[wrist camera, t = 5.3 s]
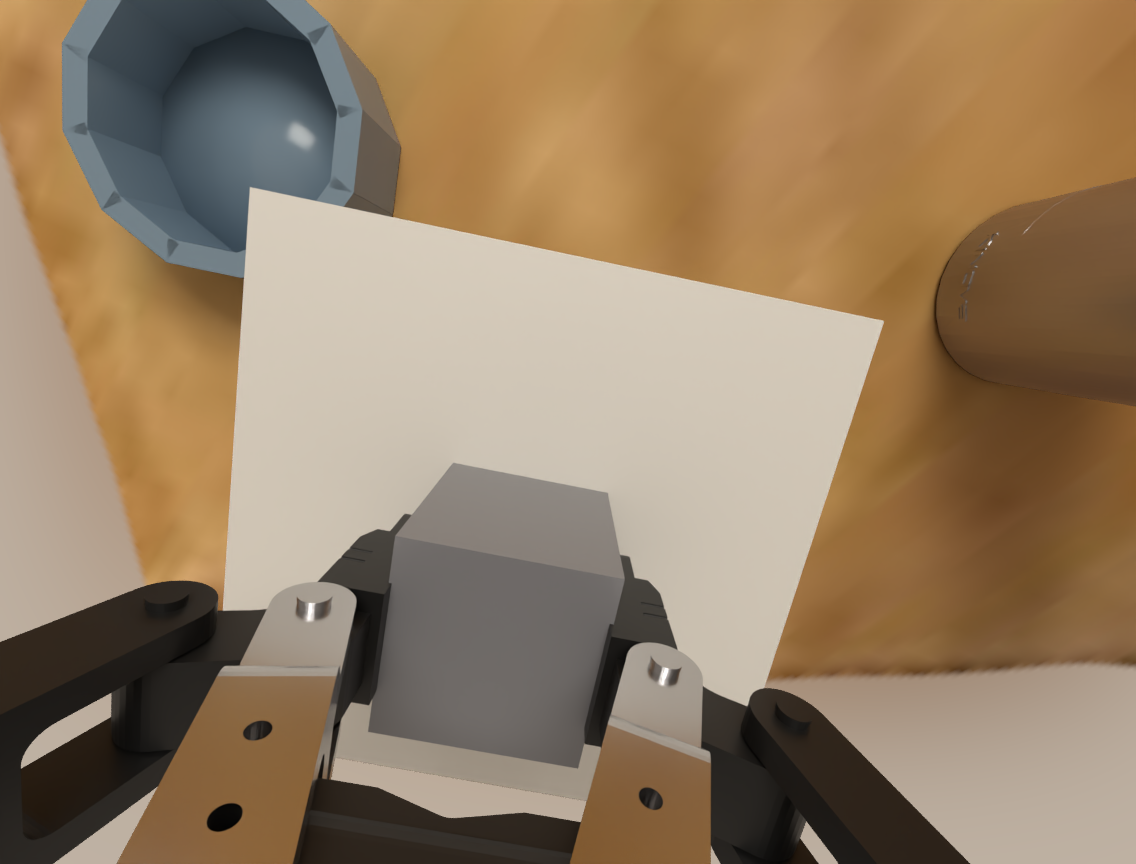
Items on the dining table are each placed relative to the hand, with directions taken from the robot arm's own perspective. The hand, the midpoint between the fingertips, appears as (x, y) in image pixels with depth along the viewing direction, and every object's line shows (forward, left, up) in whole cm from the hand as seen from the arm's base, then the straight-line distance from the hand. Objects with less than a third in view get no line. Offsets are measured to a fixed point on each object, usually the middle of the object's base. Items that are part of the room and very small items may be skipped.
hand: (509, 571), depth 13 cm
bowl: (+16, -11, -17) cm, 26 cm away
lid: (0, 0, -2) cm, 2 cm away
